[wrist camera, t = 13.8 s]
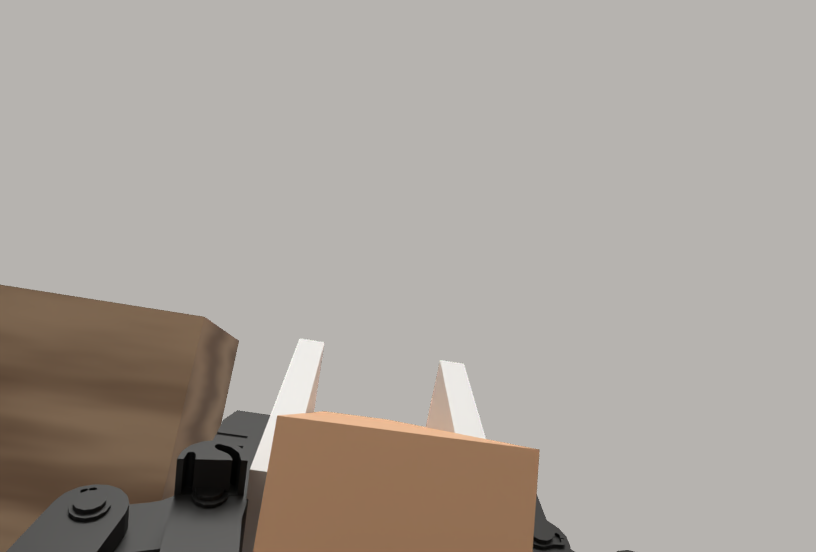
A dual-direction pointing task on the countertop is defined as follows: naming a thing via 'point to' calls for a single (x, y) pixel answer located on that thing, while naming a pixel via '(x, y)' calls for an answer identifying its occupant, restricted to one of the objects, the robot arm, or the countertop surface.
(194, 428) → the walnut stand
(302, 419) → the bar
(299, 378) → the robot arm
